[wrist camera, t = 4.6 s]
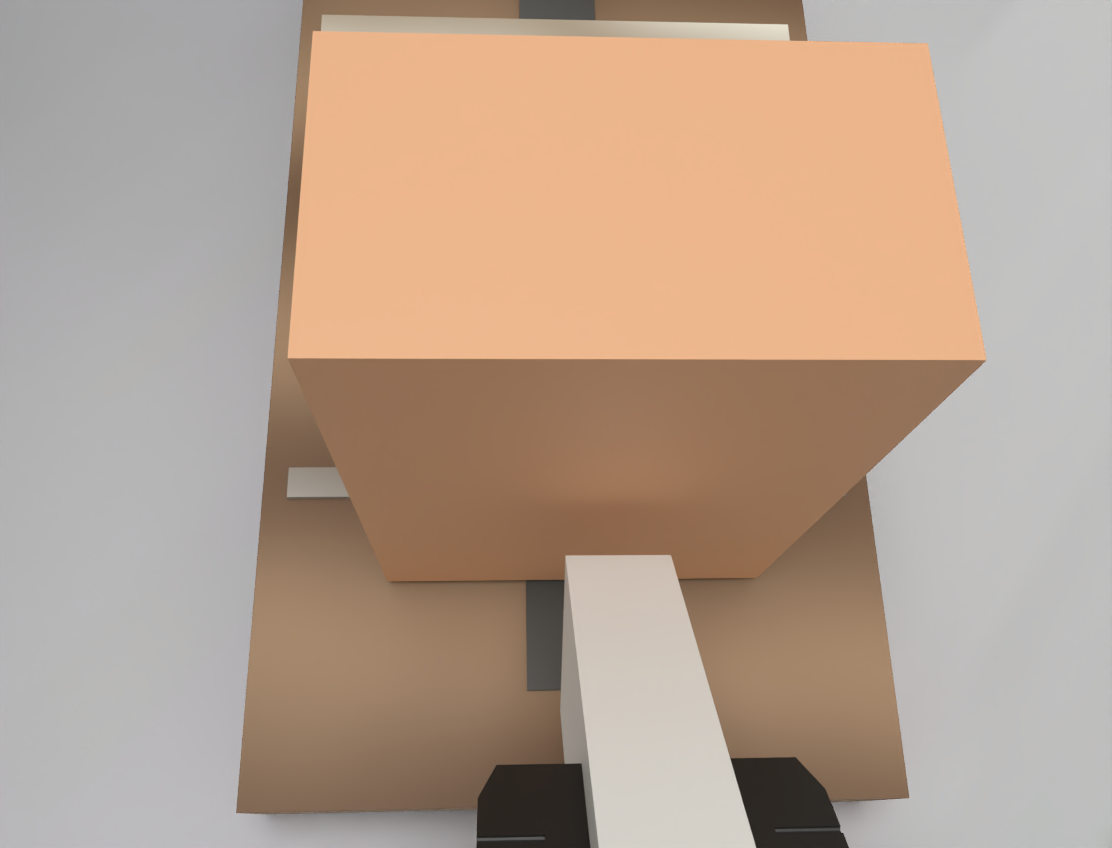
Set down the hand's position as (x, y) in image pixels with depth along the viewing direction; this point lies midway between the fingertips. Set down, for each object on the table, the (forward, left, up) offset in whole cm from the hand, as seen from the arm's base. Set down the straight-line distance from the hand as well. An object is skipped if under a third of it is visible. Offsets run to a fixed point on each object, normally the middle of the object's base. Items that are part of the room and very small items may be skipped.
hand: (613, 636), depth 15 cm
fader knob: (-4, +1, -4) cm, 6 cm away
